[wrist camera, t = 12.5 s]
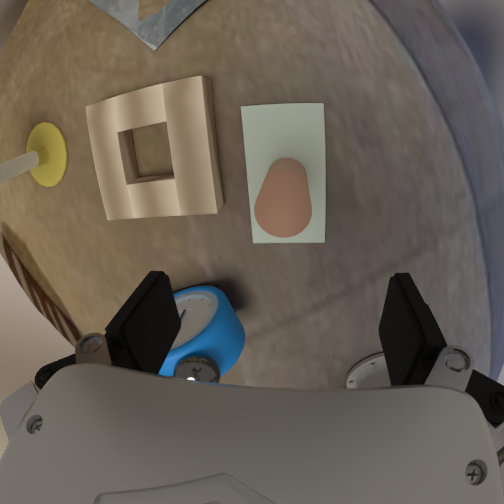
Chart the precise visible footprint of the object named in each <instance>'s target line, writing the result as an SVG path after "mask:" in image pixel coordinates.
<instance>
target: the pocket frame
mask: <svg viewBox="0 0 504 504" xmlns="http://www.w3.org/2000/svg"><path fill="white" fill-rule="evenodd" d="M86 114H87V121H88V128H89V135H90V141H91V147H92V153H93V158H94V163H95V168H96V173H97V178H98V183H99V187H100V192H101V196H102V200H103V204H104V208H105V212H106V216H107V220H118V219H131V218H145V217H161V216H179V215H199V214H218V212H219V211H220V209H221V208H222V206H223V205H224V199H223V191H222V182H221V174H220V165H219V156H218V148H217V138H216V129H215V120H214V110H213V100H212V90H211V80H210V78H208V77H205V76H196V77H190V78H185V79H180V80H176V81H171V82H167V83H162V84H158V85H154V86H150V87H146V88H143V89H139V90H135V91H132V92H129V93H125V94H122V95H119V96H116V97H113V98H109V99H107V100H104V101H101V102H98V103H95V104H92V105H90V106H87V107H86ZM162 122H167V128H168V136H169V143H170V150H171V157H172V164H173V170H174V173H172V174H163V175H155V176H148V177H140V178H139V173H138V167H137V161H136V156H135V149H134V143H133V137H132V130H131V129H133V128H138V127H142V126H147V125H152V124H157V123H162Z"/></svg>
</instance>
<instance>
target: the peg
mask: <svg viewBox="0 0 504 504" xmlns="http://www.w3.org/2000/svg"><path fill="white" fill-rule="evenodd" d="M254 215H255V218H256V221H257V223H258V224H259V226H260V227H261V228H262V229H263V230H264V231H265V232H267V233H268V234H270V235H272V236H275V237H280V238H288V237H292V236H295V235H297V234H299V233H301V232H302V231H303V230H304V229H305V228H306V227H307V226H308V224H309V222H310V220H311V217H312V205H311V199H310V193H309V187H308V181H307V176H306V171H305V169H304V167H303V166H302V165H301V164H300V163H299V162H298V161H296V160H294V159H291V158H281V159H278V160H276V161H275V162H274V163H272V165H271V166H270V167H269V169H268V172H267V174H266V177H265V179H264V182H263V184H262V187H261V189H260V192H259V194H258V197H257V199H256V201H255V205H254Z"/></svg>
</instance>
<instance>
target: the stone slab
mask: <svg viewBox="0 0 504 504" xmlns="http://www.w3.org/2000/svg"><path fill="white" fill-rule="evenodd" d="M89 1H91V2H92V3H93V4H95V5H96V6H98V7H99V8H101V9H102V10H104V11H105V12H107V13H108V14H110V15H111V16H112V17H114V18H115V19H117V20H118V21H120V22H121V23H122V24H124V25H125V26H126V27H127V28H128V29H130V30H131V31H132V32H133V33H134V34H135V35H137V36H138V37H139V38H140V39H141V40H142V41H144V42H145V43H146V44H147V45H148V46H149V47H150V48H151V49H152V50H155V49H157V48H158V47H159V46H160V44H161V43H162V42H163V41H164V40H165V39H166V38H167V37H168V35H169V34H170V33H171V32H172V31H173V30H174V29H175V28H176V27H177V26H178V25H179V24H180V23H181V22H182V21H183V20H184V19H185V18H186V17H187V16H188V15H189V14H190V13H192V12H193V11H194V10H195V9H196V8H197V7H198V6H199V5H200V4H201V3H203V2H204V1H206V0H169V3H168V5H167V6H166V5H164V6H163V7H162V9H161V10H160V12H158V13H156V14H154V15H152V16H151V15H147V18H145V19H144V20H141V21H139V20H138V17H137V14H138V10H139V0H89Z"/></svg>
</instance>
